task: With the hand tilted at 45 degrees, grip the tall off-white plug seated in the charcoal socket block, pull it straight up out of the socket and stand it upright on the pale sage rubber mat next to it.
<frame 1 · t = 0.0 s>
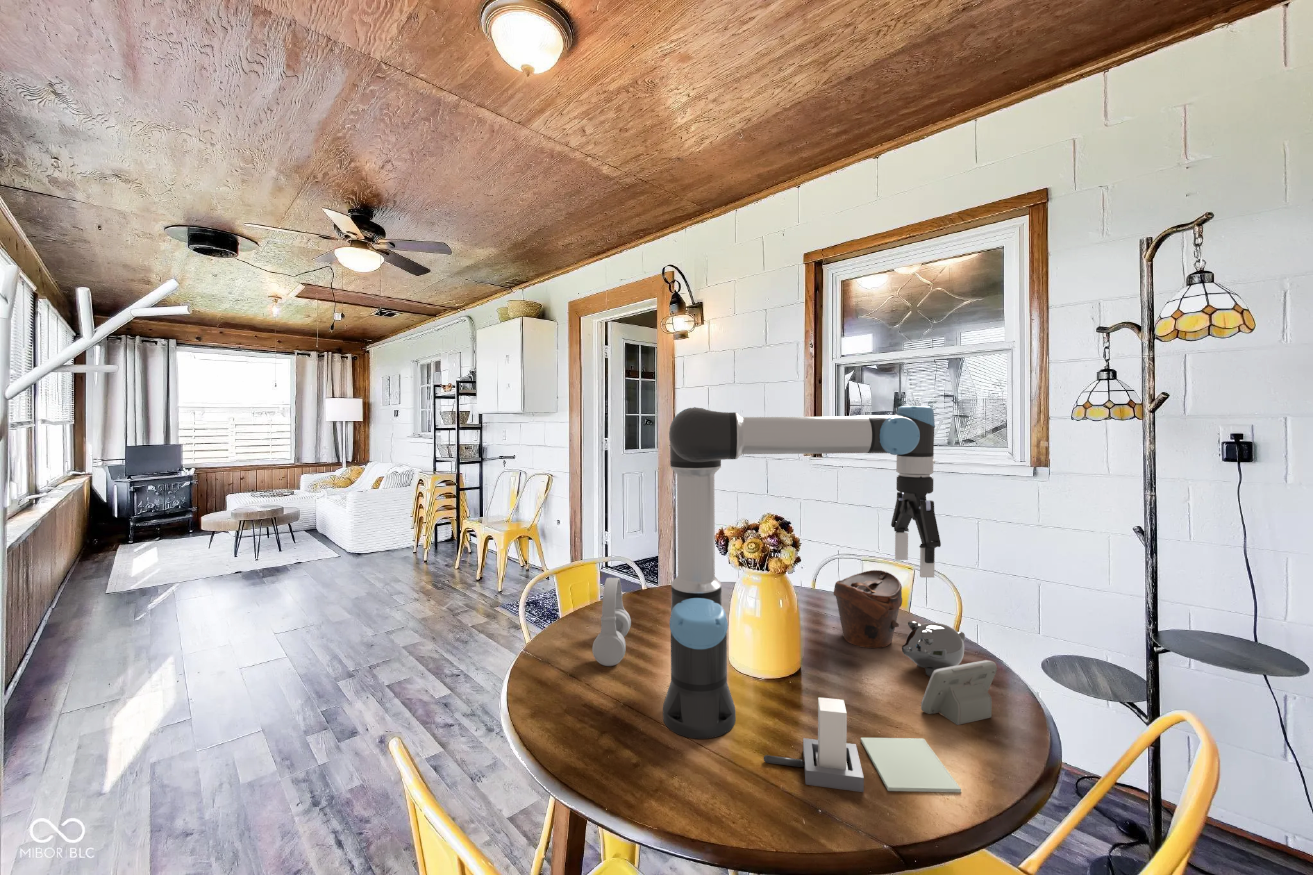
hand: (913, 567, 124), 28 cm above the table, tool pointing down, fingers open, 13 cm apart
socket block: (831, 770, 97), on the table
headphones: (613, 650, 147), on the table
digital clock: (958, 712, 116), on the table
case: (866, 640, 152), on the table
mat: (907, 764, 99), on the table
piggy bank: (933, 671, 134), on the table
plug: (831, 737, 97), in the socket block
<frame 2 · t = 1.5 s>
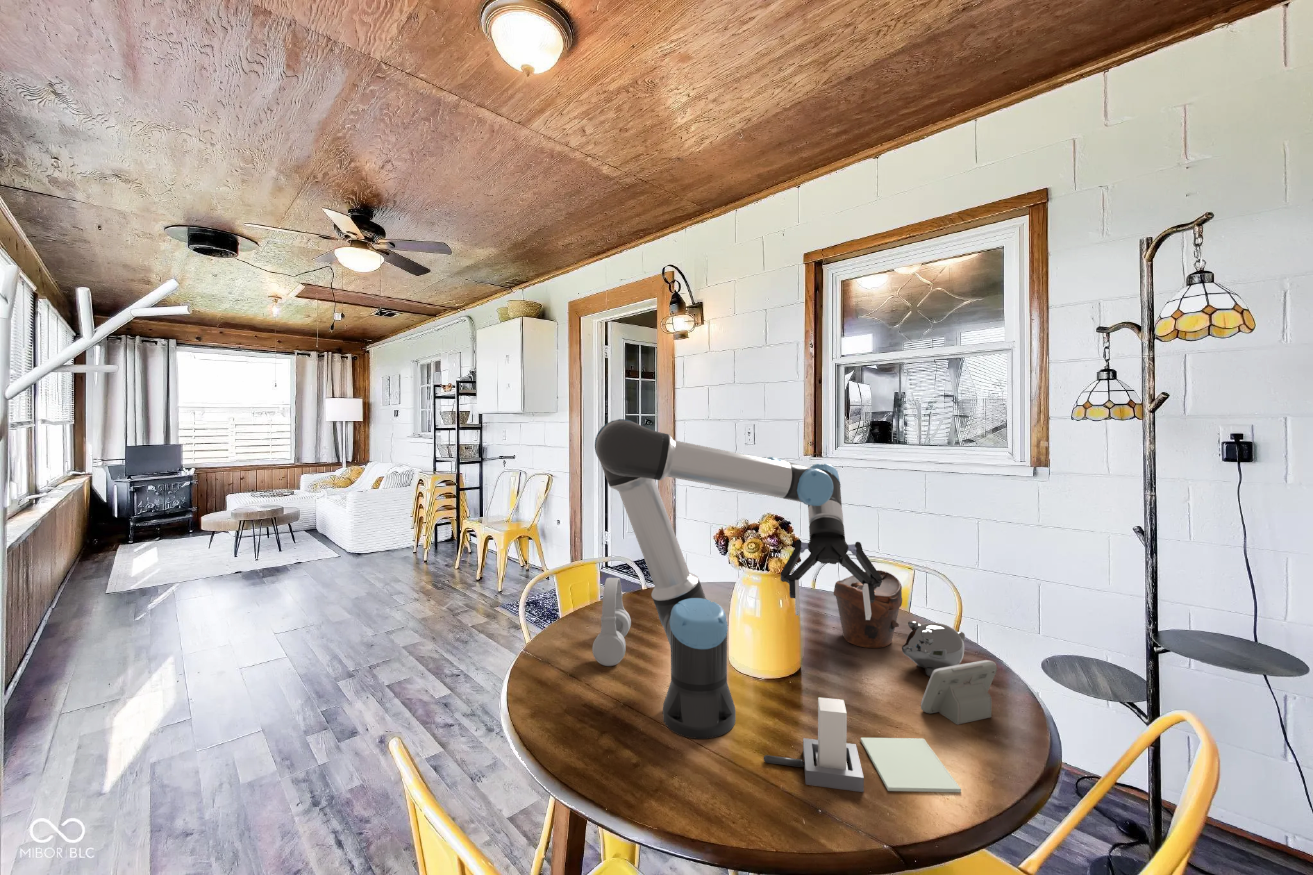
hand: (832, 614, 109), 23 cm above the table, tool tilted 45°, fingers open, 13 cm apart
nothing on the table moved.
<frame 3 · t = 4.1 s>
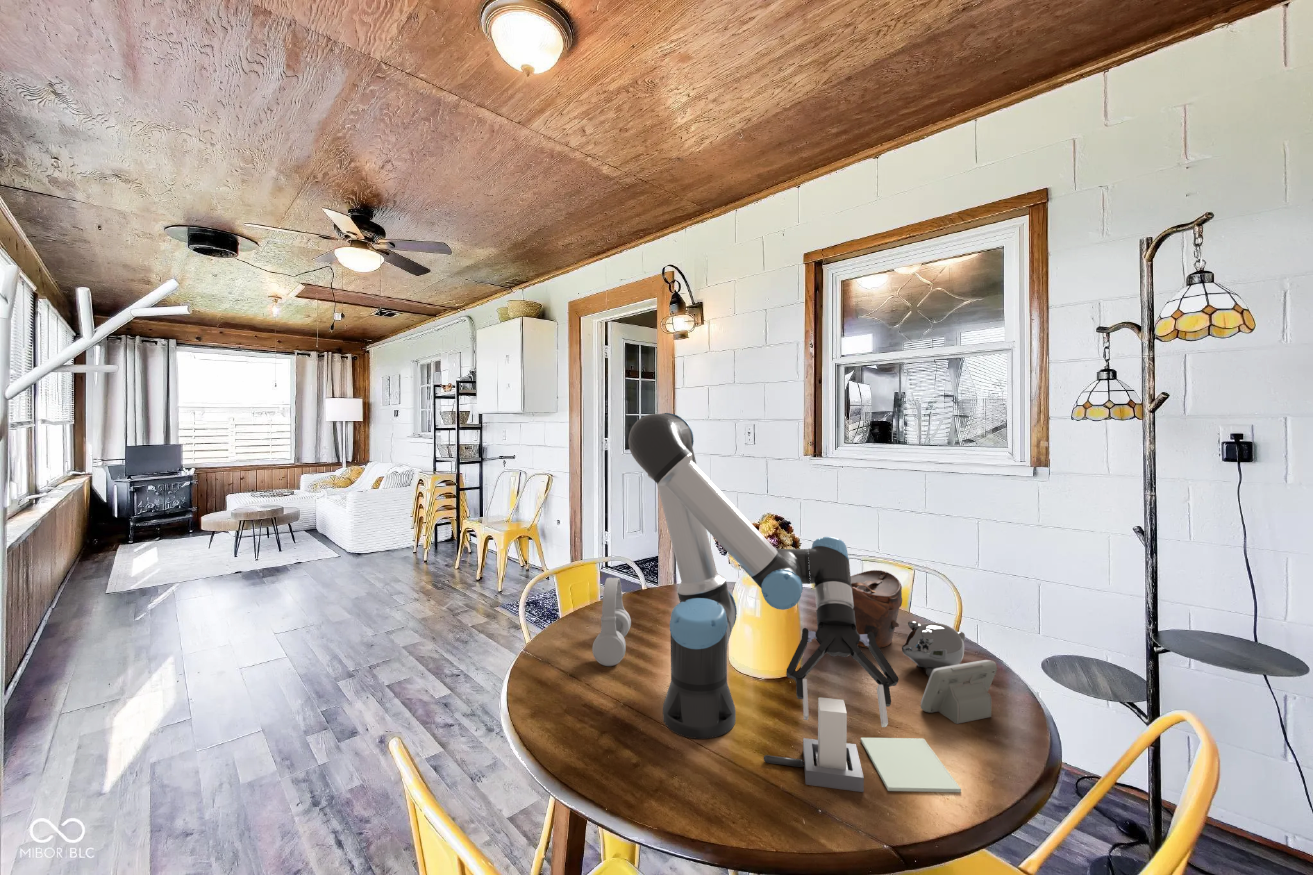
hand: (844, 721, 99), 8 cm above the table, tool tilted 45°, fingers open, 13 cm apart
nothing on the table moved.
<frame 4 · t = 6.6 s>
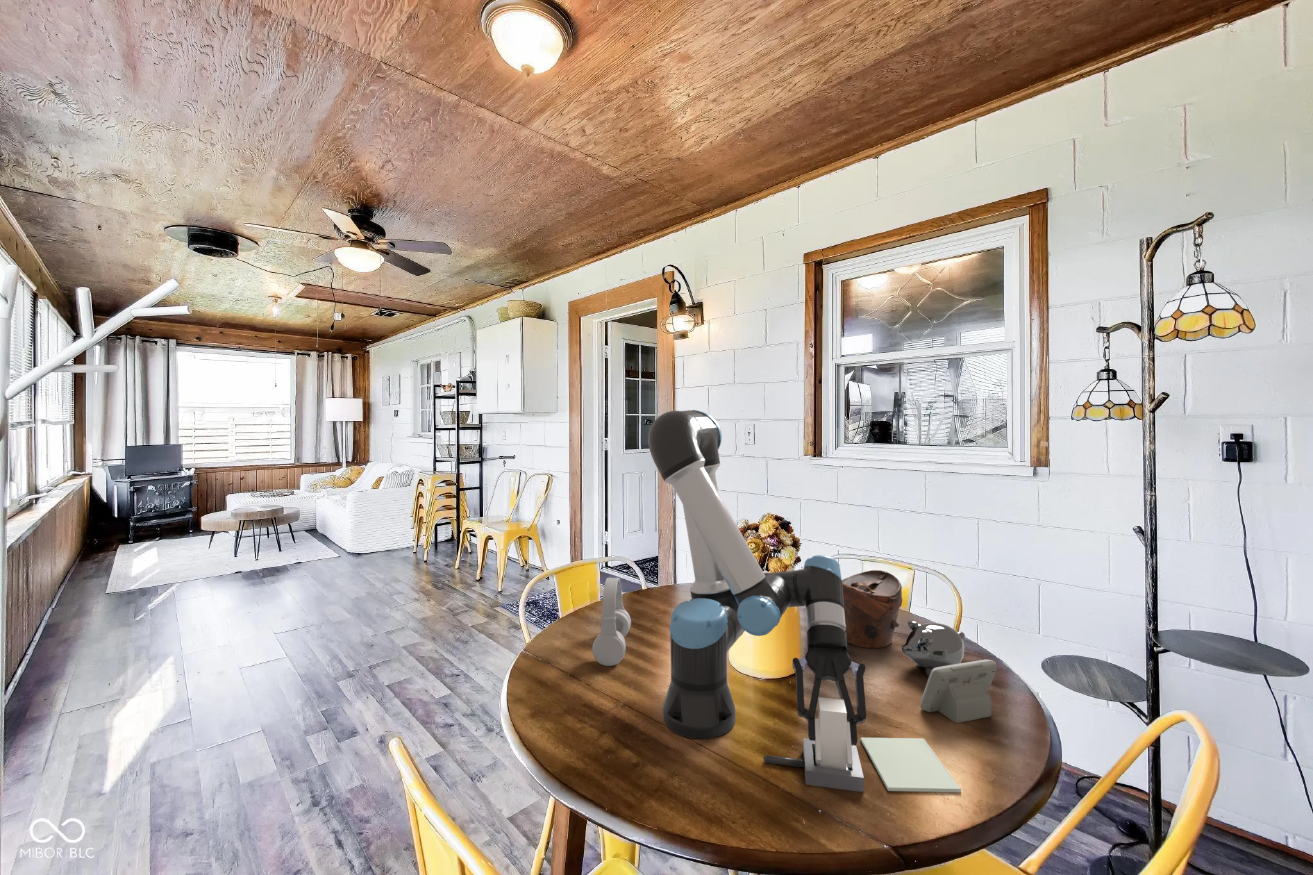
hand: (834, 763, 93), 4 cm above the table, tool tilted 45°, fingers closed on plug, 4 cm apart
plug: (831, 737, 97), in the socket block, touching gripper
everything else where it was.
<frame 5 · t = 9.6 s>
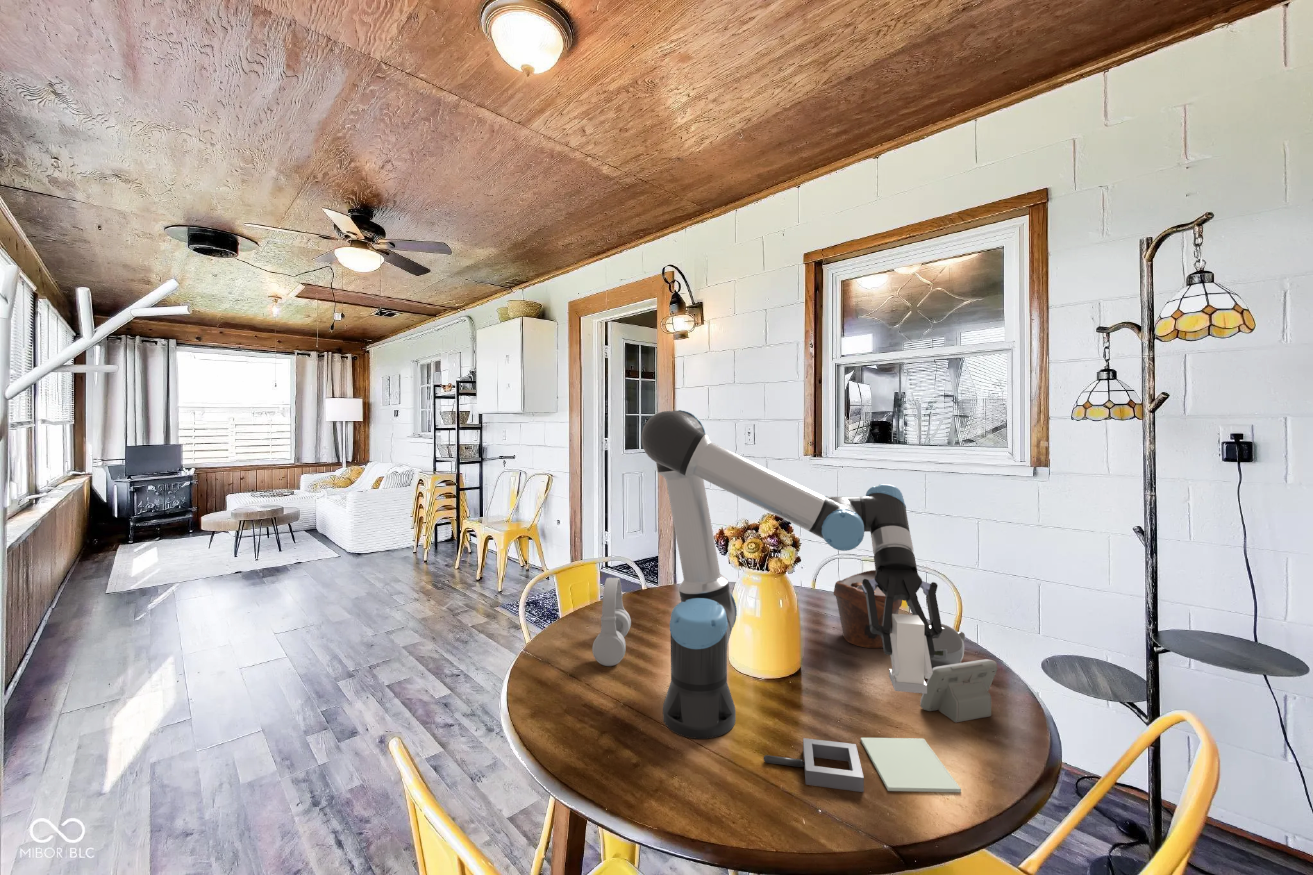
hand: (912, 674, 94), 19 cm above the table, tool tilted 45°, fingers closed on plug, 4 cm apart
plug: (907, 652, 97), point 21 cm above the table, touching gripper
everything else where it was.
when the fingers open (5 cm above the table, at t = 12.7 s): plug stays where it is, resting on mat.
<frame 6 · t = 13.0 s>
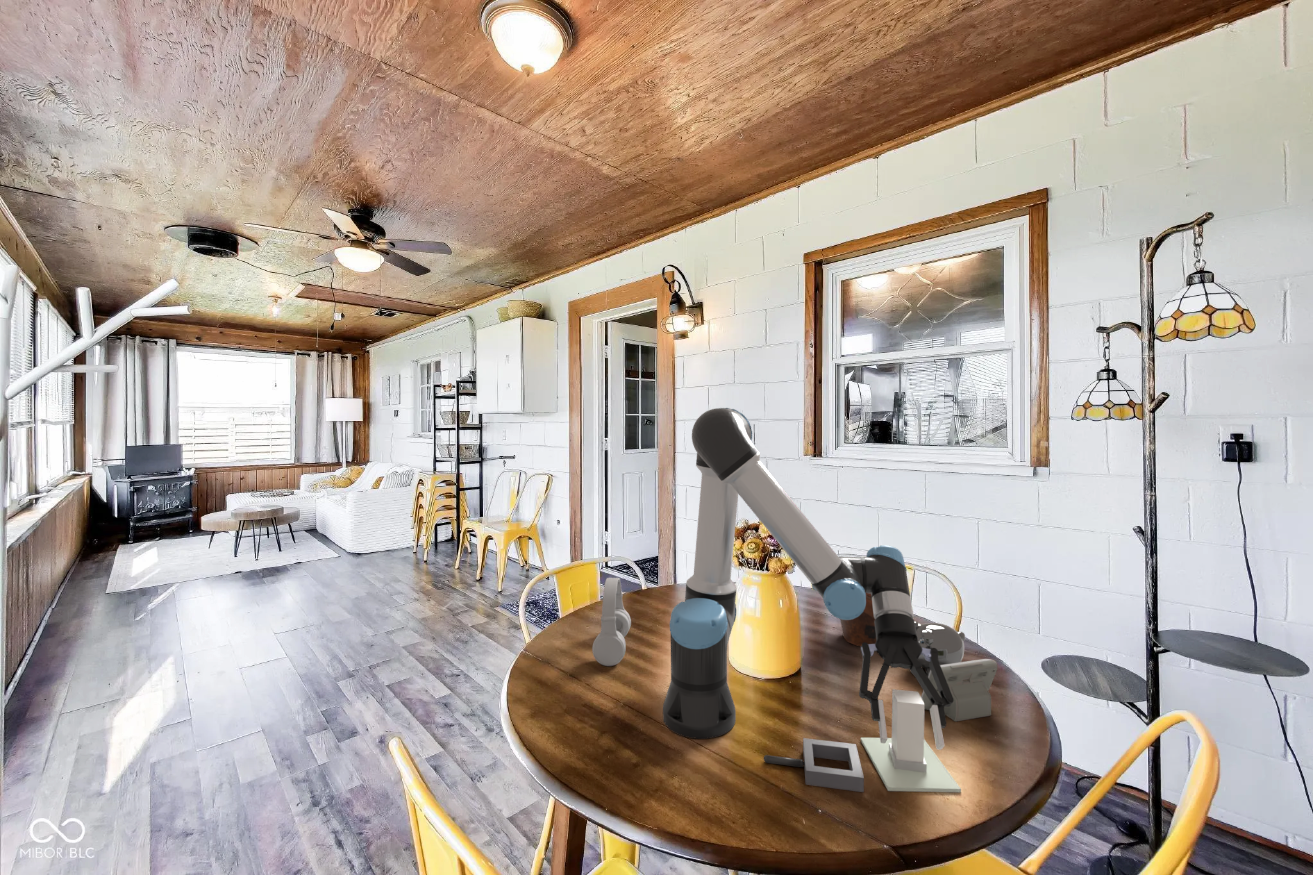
hand: (911, 744, 95), 6 cm above the table, tool tilted 45°, fingers open, 8 cm apart
plug: (907, 728, 98), on the mat, point 7 cm above the table
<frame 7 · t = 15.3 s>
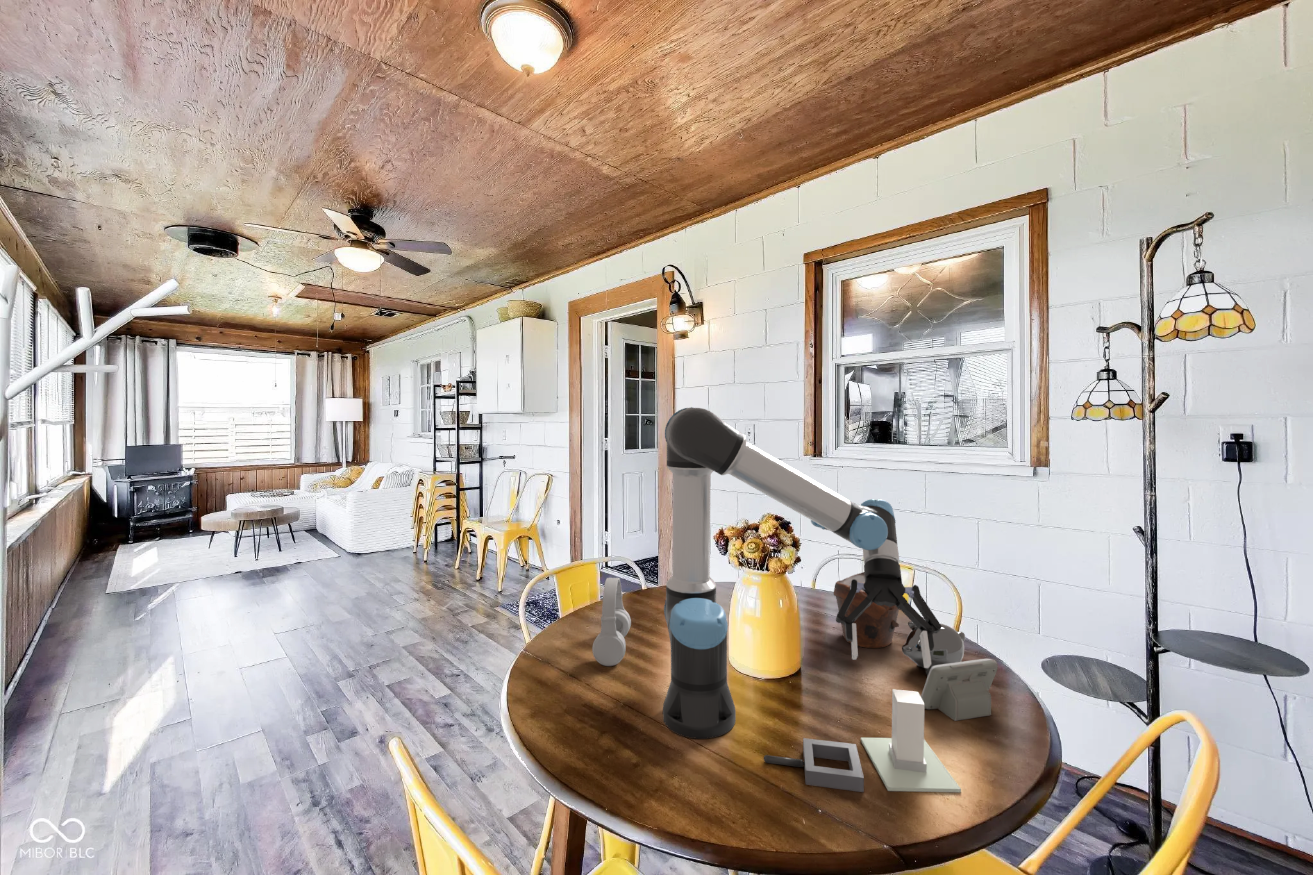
hand: (890, 661, 109), 14 cm above the table, tool tilted 40°, fingers open, 13 cm apart
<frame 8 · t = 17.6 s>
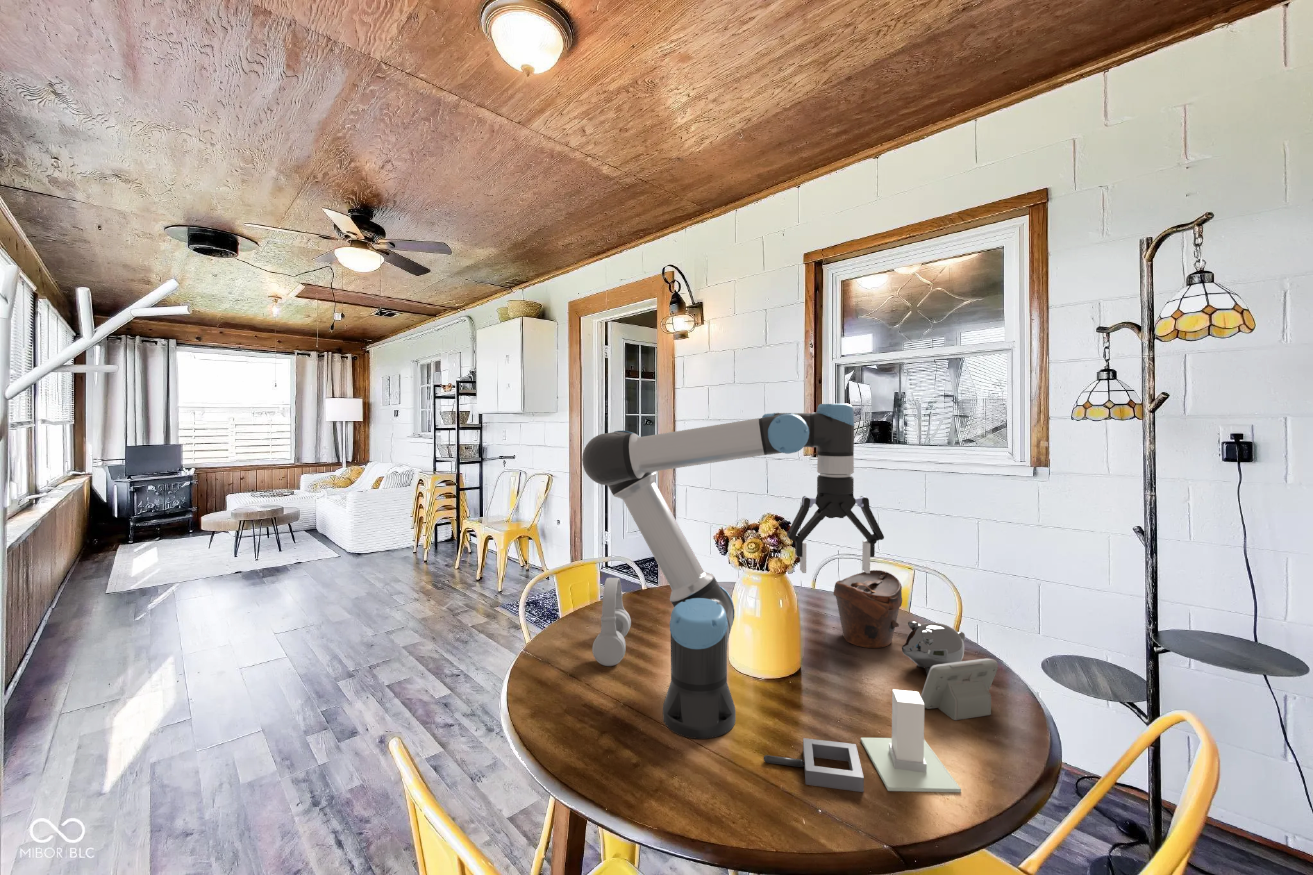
hand: (834, 571, 119), 29 cm above the table, tool pointing down, fingers open, 13 cm apart
at the end: plug inside the target area on the mat (0.0 cm from its centre), point 6.6 cm above the mat's base; plug tilted 0°; the gripper is holding nothing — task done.
